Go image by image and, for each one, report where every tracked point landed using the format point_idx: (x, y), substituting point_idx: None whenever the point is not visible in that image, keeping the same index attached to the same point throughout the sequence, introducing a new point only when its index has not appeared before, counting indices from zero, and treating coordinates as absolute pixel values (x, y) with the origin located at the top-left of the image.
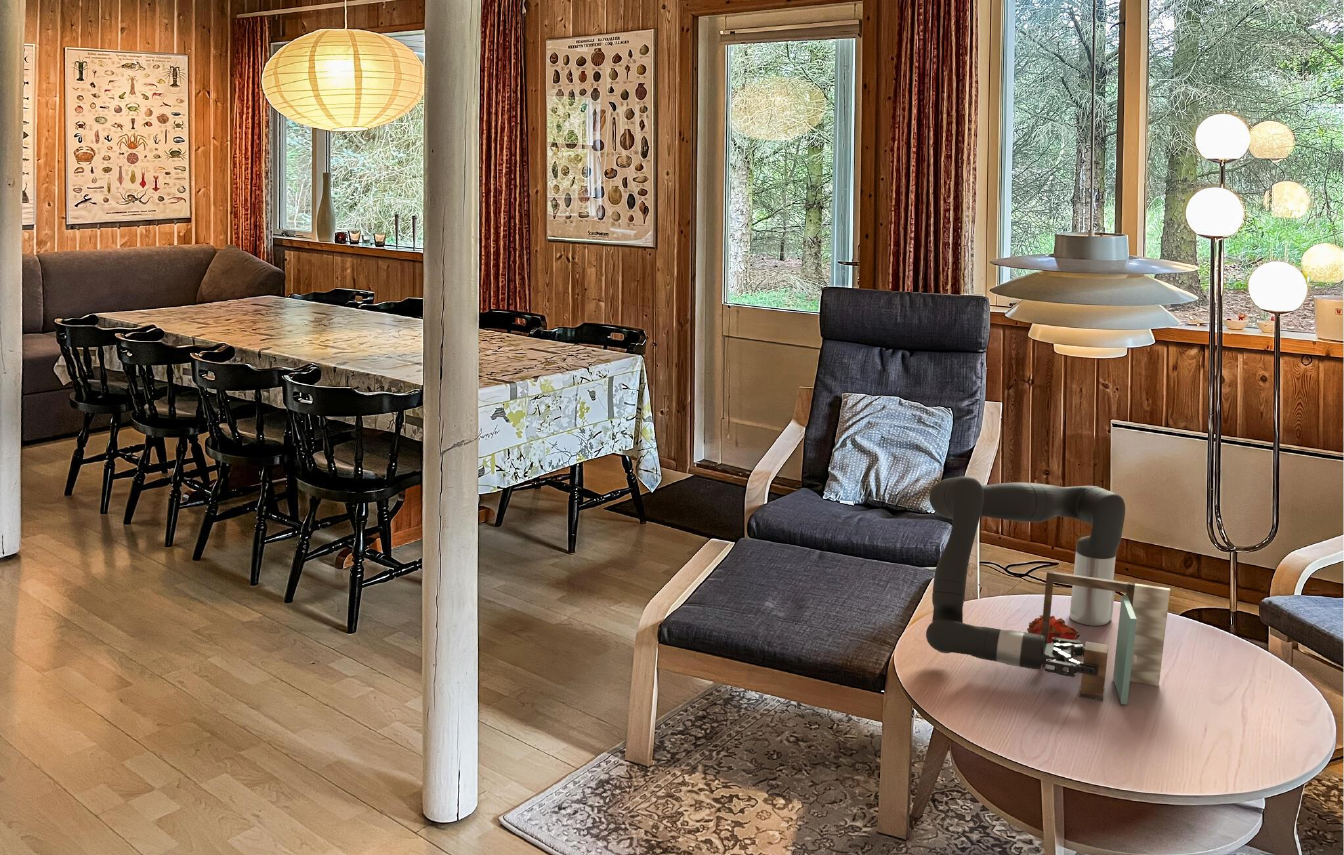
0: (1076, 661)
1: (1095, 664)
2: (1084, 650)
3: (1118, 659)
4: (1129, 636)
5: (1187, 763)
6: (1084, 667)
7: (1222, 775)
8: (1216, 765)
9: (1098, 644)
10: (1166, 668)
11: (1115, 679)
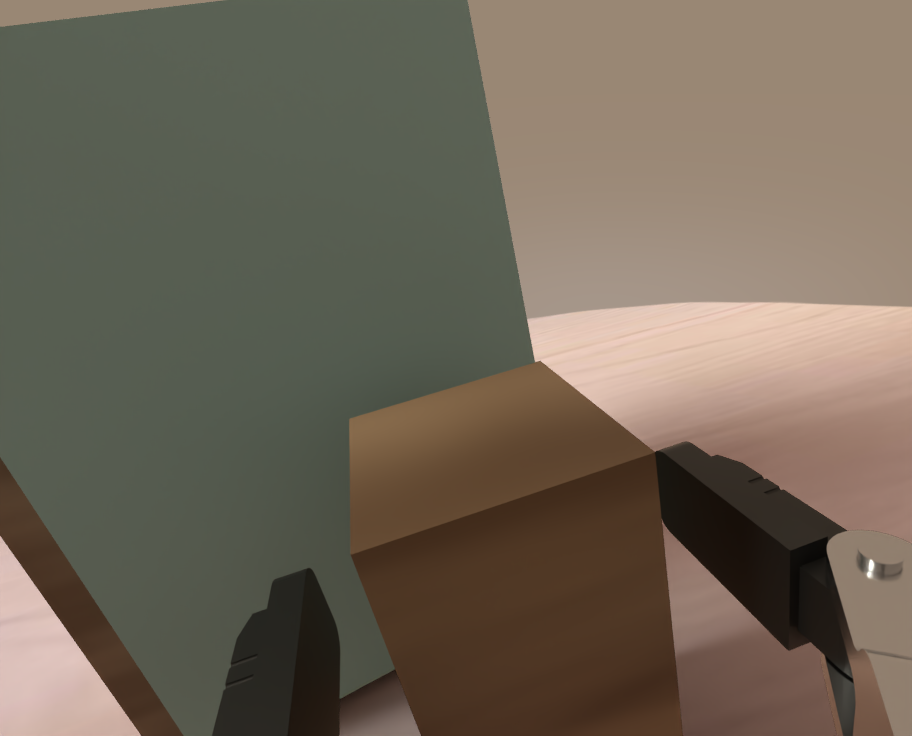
0: (884, 550)
1: (674, 456)
2: (655, 467)
3: (288, 546)
4: (490, 149)
5: (765, 347)
6: (812, 511)
7: (728, 320)
8: (696, 335)
9: (380, 454)
10: (42, 625)
11: None
